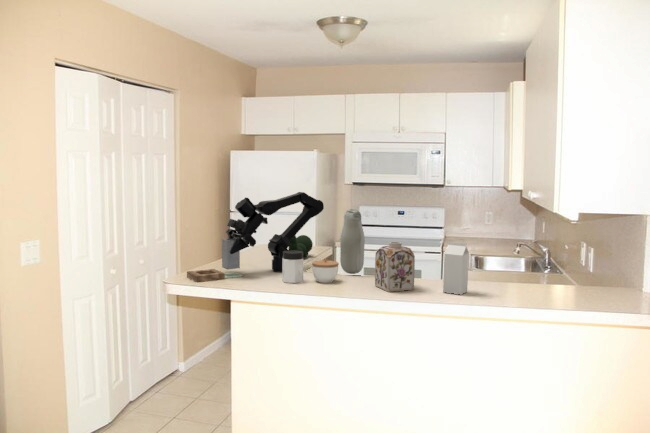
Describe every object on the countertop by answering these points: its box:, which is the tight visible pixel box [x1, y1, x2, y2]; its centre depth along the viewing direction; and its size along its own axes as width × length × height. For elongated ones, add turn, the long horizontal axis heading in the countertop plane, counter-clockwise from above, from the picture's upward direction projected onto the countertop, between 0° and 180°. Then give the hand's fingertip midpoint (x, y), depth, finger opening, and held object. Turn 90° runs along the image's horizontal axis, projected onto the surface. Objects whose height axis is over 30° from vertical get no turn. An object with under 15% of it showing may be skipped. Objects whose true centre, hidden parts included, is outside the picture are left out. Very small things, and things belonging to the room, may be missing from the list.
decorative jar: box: [374, 241, 416, 293], centre depth 225 cm, size 12×12×18 cm
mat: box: [224, 272, 244, 279], centre depth 245 cm, size 8×8×1 cm
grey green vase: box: [339, 208, 366, 275], centre depth 253 cm, size 10×10×28 cm
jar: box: [281, 249, 305, 284], centre depth 235 cm, size 9×8×12 cm
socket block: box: [186, 268, 226, 283], centre depth 239 cm, size 12×11×2 cm
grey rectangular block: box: [221, 238, 241, 270], centre depth 244 cm, size 6×6×12 cm
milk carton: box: [442, 241, 470, 296], centre depth 220 cm, size 7×7×19 cm
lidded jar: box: [311, 258, 339, 284], centre depth 236 cm, size 11×11×9 cm
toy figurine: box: [288, 234, 314, 259], centre depth 290 cm, size 9×19×25 cm
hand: (227, 252), depth 243 cm, fingers closed on grey rectangular block, 5 cm apart
